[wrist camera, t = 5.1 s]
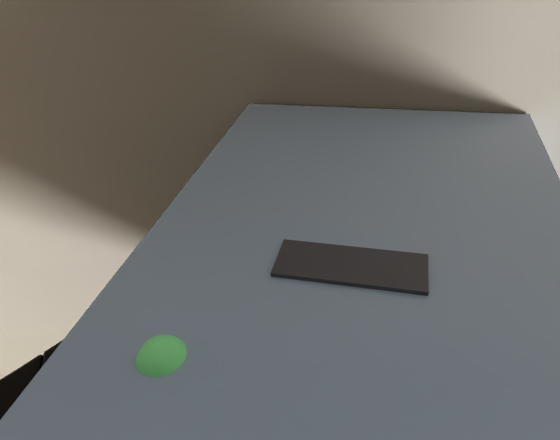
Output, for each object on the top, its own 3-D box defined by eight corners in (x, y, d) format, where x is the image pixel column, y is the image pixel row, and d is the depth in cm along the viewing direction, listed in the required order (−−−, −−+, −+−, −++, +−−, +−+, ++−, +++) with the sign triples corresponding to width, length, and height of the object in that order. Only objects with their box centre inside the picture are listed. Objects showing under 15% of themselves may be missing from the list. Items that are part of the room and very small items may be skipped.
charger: (457, 394, 12) (485, 802, 7) (274, 363, 14) (172, 693, 8) (532, 105, 8) (777, 611, 2) (248, 96, 9) (-22, 426, 4)
